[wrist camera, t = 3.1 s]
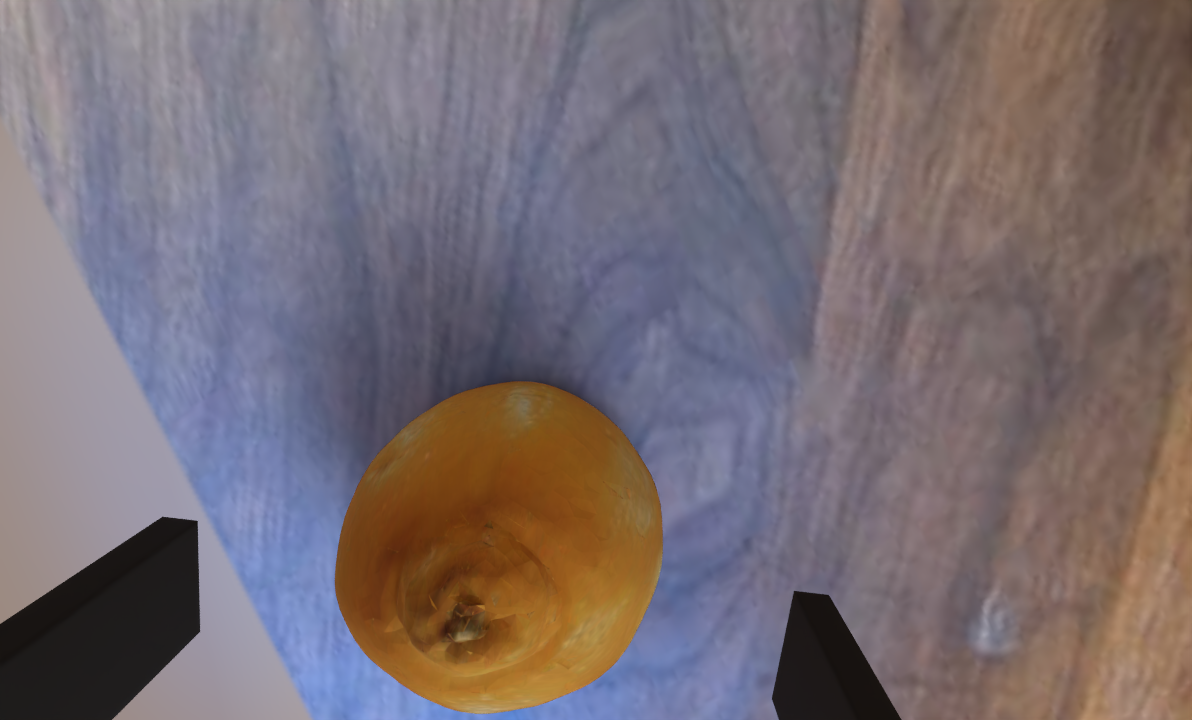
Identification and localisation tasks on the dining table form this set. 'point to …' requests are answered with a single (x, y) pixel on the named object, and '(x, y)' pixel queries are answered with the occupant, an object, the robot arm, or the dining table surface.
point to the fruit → (500, 549)
